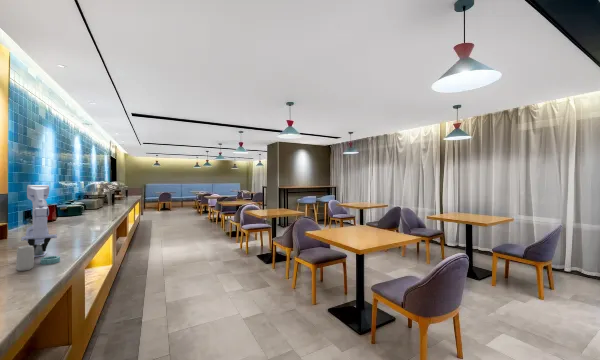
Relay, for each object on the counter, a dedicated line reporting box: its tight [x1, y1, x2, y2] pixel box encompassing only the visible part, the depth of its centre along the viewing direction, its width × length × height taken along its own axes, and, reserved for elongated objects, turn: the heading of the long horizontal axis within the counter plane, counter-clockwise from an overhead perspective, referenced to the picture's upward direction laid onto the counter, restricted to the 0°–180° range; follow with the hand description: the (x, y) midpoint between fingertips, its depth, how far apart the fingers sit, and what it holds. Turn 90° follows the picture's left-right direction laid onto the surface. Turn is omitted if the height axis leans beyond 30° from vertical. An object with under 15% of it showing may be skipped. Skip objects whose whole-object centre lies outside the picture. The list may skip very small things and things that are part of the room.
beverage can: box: [15, 245, 35, 272], centre depth 138 cm, size 6×6×12 cm
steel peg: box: [34, 243, 44, 256], centre depth 152 cm, size 4×4×6 cm
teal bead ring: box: [40, 255, 61, 265], centre depth 151 cm, size 8×8×2 cm
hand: (39, 251), depth 152 cm, fingers closed on steel peg, 4 cm apart
